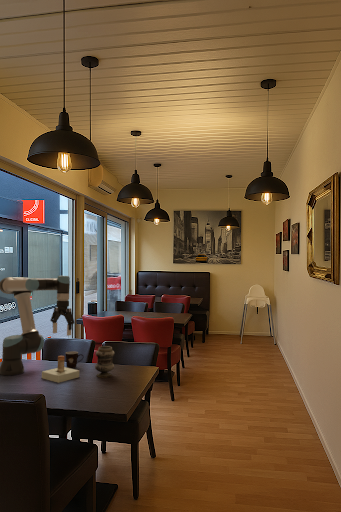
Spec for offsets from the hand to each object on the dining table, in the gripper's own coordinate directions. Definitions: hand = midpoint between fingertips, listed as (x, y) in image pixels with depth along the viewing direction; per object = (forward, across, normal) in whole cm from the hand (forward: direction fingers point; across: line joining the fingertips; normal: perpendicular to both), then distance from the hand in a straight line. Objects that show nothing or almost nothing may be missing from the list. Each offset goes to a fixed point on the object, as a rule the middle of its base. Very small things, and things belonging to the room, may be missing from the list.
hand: (61, 334), depth 233 cm
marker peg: (+27, 0, 0) cm, 27 cm away
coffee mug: (+27, -14, +22) cm, 37 cm away
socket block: (+27, 0, 0) cm, 27 cm away
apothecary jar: (+27, +18, +20) cm, 38 cm away
